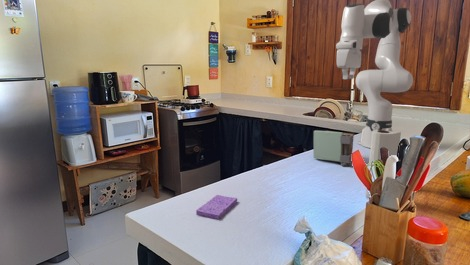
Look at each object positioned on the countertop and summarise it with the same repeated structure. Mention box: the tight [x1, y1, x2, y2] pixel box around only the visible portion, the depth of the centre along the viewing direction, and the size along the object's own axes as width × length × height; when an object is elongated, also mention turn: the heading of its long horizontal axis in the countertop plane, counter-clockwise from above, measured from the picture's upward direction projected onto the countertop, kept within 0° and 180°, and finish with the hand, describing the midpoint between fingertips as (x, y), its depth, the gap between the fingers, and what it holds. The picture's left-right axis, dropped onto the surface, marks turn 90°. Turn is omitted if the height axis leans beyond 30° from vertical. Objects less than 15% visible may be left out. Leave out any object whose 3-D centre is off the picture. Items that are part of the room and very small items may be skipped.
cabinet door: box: [313, 130, 354, 164], centre depth 133 cm, size 4×16×12 cm, turn 52°
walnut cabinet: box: [328, 130, 355, 168], centre depth 137 cm, size 14×16×13 cm
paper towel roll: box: [365, 130, 402, 199], centre depth 96 cm, size 7×6×21 cm
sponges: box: [195, 194, 238, 220], centre depth 91 cm, size 7×13×2 cm, turn 156°
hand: (348, 79), depth 133 cm, fingers open, 6 cm apart
